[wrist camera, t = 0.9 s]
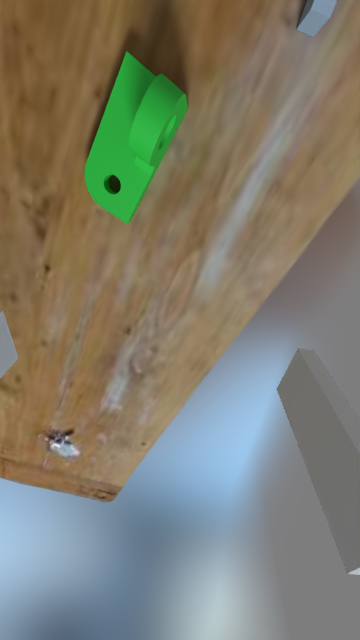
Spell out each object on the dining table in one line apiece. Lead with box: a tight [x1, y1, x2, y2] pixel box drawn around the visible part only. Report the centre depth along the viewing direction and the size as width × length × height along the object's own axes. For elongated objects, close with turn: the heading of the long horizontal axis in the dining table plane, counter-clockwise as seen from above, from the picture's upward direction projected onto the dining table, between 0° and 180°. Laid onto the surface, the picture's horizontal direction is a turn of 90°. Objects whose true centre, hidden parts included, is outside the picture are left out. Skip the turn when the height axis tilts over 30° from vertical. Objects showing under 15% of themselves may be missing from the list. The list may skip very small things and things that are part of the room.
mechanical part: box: [85, 51, 188, 224], centre depth 21 cm, size 12×6×8 cm, turn 147°
